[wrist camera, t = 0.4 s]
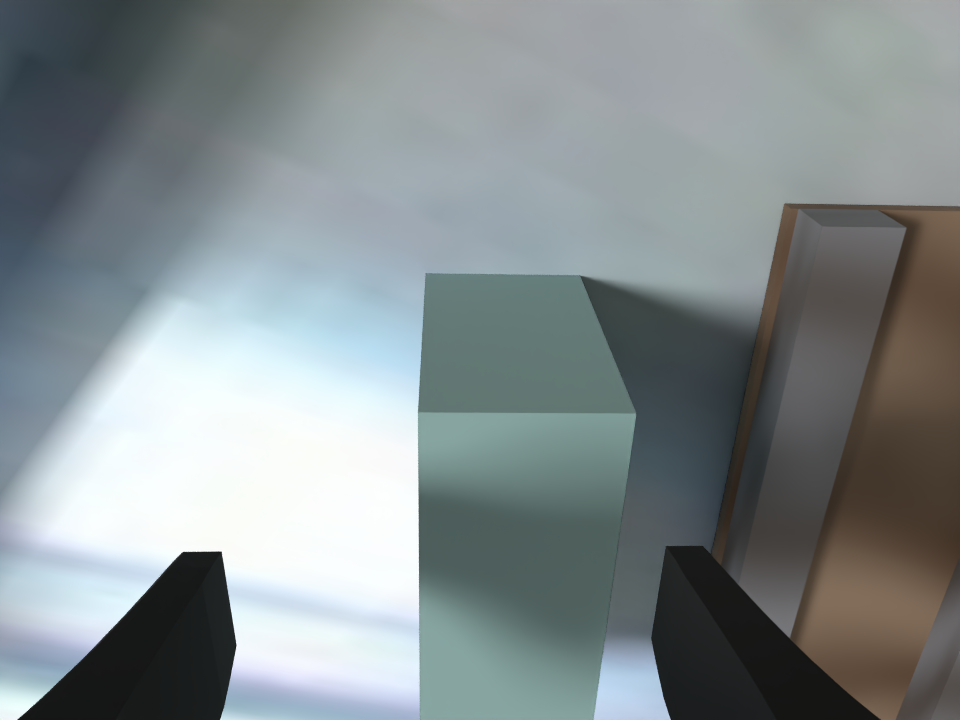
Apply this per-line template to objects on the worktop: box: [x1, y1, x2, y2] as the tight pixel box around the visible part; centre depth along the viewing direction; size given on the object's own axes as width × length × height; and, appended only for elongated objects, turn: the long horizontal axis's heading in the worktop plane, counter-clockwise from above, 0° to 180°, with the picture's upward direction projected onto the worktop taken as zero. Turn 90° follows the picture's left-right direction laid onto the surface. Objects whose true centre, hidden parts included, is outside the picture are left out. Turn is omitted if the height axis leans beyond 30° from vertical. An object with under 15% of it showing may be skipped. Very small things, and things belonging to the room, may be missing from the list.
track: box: [711, 204, 960, 720], centre depth 24 cm, size 20×10×2 cm, turn 178°
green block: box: [418, 273, 636, 720], centre depth 20 cm, size 12×4×7 cm, turn 178°
